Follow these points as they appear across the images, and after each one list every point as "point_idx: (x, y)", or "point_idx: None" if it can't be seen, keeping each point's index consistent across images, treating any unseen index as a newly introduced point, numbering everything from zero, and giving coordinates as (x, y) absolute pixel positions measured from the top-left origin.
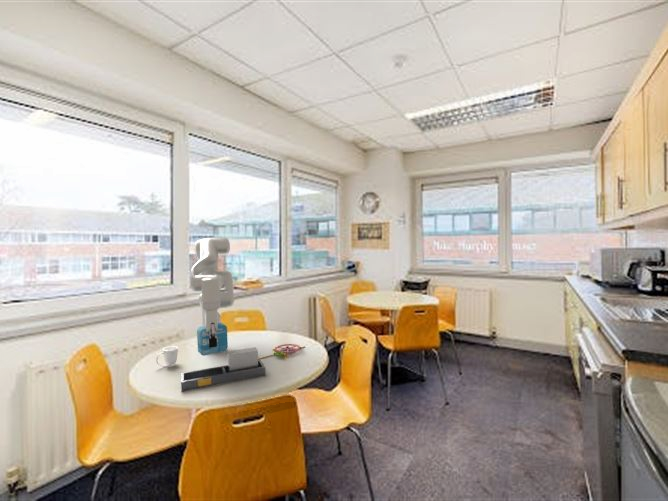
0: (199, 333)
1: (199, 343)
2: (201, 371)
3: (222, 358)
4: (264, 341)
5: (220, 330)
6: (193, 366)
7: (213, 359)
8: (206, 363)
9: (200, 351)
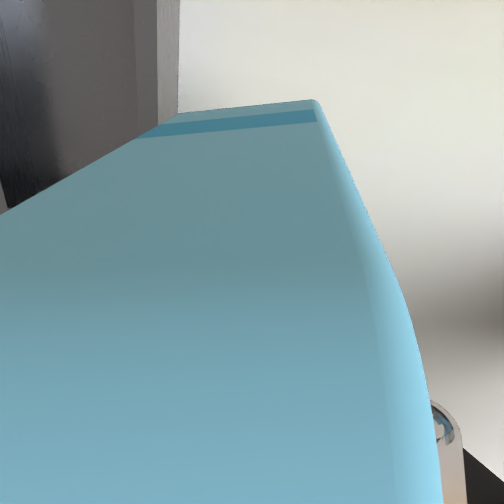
0: None
1: (180, 139)
2: (139, 73)
3: (451, 278)
4: (500, 474)
5: None
6: (480, 60)
7: (487, 229)
8: (452, 170)
9: (179, 115)
